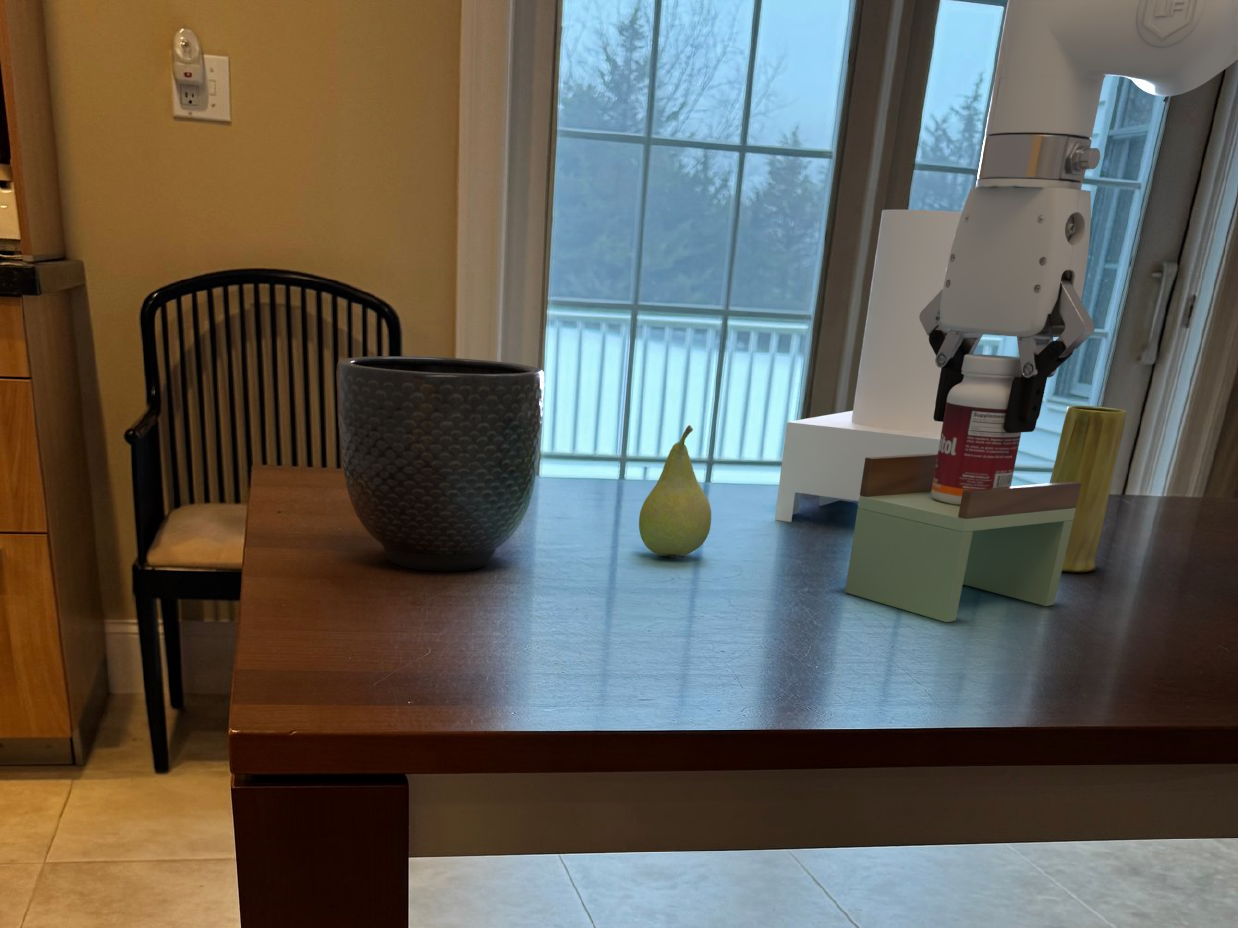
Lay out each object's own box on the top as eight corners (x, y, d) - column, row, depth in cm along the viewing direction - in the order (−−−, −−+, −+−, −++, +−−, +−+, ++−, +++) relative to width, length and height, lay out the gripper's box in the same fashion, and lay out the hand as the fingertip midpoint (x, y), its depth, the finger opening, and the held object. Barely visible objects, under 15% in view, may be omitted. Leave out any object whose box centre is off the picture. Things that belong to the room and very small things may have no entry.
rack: (1054, 605, 110) (1085, 469, 105) (946, 622, 103) (973, 478, 98) (951, 577, 118) (975, 450, 113) (844, 592, 110) (865, 457, 105)
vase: (1025, 568, 123) (1060, 408, 117) (1030, 556, 128) (1063, 403, 122) (1093, 576, 121) (1132, 414, 115) (1095, 564, 126) (1132, 408, 120)
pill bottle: (925, 493, 110) (949, 351, 104) (1000, 498, 109) (1028, 355, 104) (934, 505, 104) (960, 356, 99) (1012, 510, 103) (1043, 360, 98)
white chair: (774, 519, 141) (813, 205, 127) (839, 499, 155) (881, 214, 141) (943, 545, 132) (1005, 210, 118) (995, 521, 146) (1056, 220, 132)
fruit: (700, 550, 124) (714, 416, 118) (715, 567, 117) (730, 427, 111) (631, 548, 123) (641, 413, 118) (642, 565, 116) (654, 423, 111)
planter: (328, 578, 106) (322, 367, 99) (353, 537, 121) (349, 352, 114) (537, 587, 107) (546, 378, 99) (535, 545, 122) (543, 362, 115)
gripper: (1167, 170, 91) (1104, 439, 100) (970, 173, 104) (929, 412, 112) (1104, 161, 87) (1044, 442, 96) (907, 166, 100) (869, 414, 108)
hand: (983, 424), depth 104 cm, fingers closed on pill bottle, 6 cm apart
